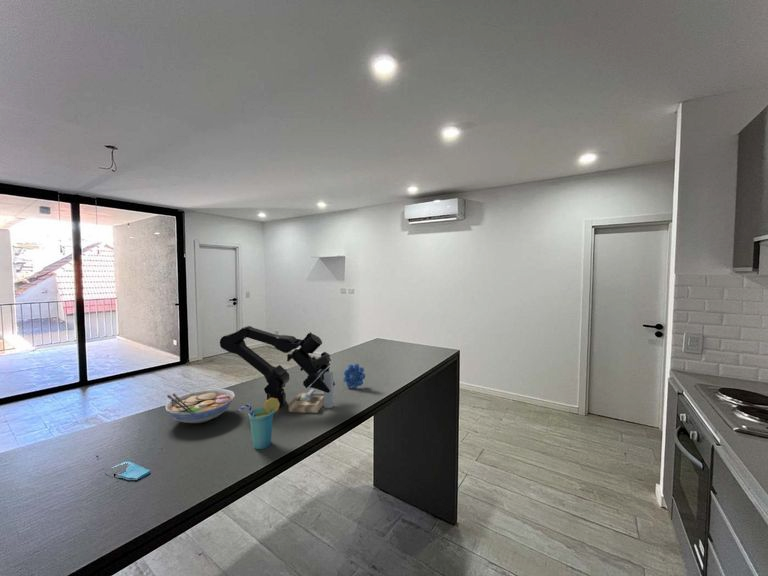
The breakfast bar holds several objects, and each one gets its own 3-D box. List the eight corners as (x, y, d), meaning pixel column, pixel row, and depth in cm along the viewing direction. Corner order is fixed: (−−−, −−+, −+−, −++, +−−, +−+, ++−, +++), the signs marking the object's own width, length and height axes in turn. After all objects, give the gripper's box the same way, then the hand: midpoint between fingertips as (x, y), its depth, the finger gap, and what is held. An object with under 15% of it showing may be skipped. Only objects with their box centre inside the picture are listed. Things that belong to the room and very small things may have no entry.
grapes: (369, 387, 153) (369, 362, 152) (362, 392, 146) (362, 366, 146) (348, 383, 157) (347, 359, 157) (340, 388, 151) (340, 363, 151)
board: (288, 411, 126) (288, 404, 126) (299, 399, 138) (299, 392, 138) (316, 412, 125) (316, 405, 125) (325, 400, 137) (325, 393, 137)
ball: (309, 399, 129) (305, 408, 130) (312, 395, 133) (309, 404, 134) (300, 395, 130) (296, 404, 130) (303, 392, 134) (300, 400, 134)
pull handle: (306, 408, 129) (305, 374, 128) (311, 402, 135) (310, 370, 134) (330, 409, 128) (330, 375, 127) (334, 403, 134) (334, 370, 133)
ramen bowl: (247, 418, 121) (246, 397, 120) (177, 442, 104) (176, 418, 104) (221, 401, 138) (220, 382, 137) (157, 419, 121) (156, 397, 121)
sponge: (127, 484, 83) (151, 468, 88) (103, 471, 88) (127, 458, 93) (128, 489, 83) (152, 473, 88) (104, 476, 88) (128, 462, 94)
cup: (246, 460, 94) (245, 410, 93) (231, 452, 98) (230, 404, 97) (285, 440, 105) (284, 395, 104) (270, 433, 109) (269, 390, 109)
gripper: (310, 353, 121) (339, 383, 120) (325, 342, 139) (350, 368, 139) (290, 373, 122) (319, 403, 121) (307, 360, 141) (332, 385, 140)
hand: (331, 388), depth 130 cm, fingers open, 7 cm apart
